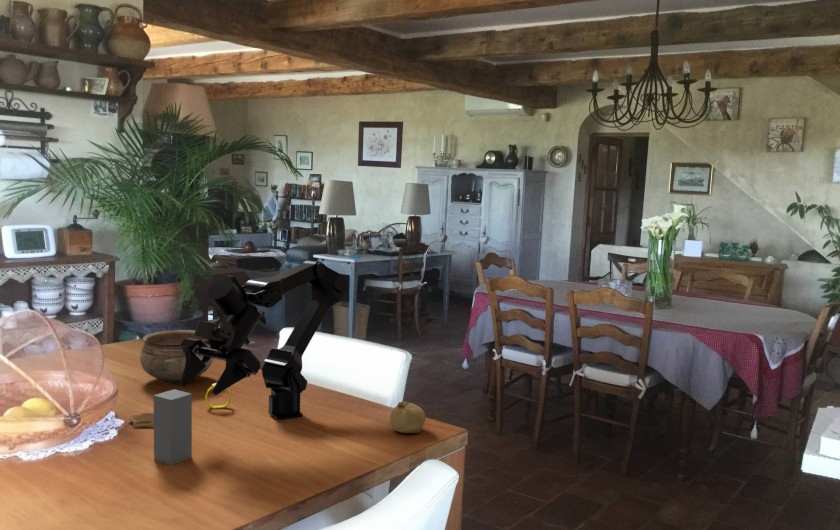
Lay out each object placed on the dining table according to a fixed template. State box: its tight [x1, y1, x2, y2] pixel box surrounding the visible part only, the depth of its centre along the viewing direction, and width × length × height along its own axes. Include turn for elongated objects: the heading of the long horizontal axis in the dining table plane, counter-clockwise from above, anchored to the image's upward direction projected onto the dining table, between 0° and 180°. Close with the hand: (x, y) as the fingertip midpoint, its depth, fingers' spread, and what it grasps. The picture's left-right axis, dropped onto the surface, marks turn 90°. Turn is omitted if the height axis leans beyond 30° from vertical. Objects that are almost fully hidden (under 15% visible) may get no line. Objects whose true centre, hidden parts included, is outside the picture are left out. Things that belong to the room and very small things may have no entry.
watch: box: [204, 382, 232, 410], centre depth 171 cm, size 6×3×6 cm, turn 101°
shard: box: [127, 412, 154, 429], centre depth 158 cm, size 11×8×2 cm
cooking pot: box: [139, 329, 214, 385], centre depth 191 cm, size 25×19×12 cm
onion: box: [389, 400, 427, 434], centre depth 160 cm, size 8×8×7 cm
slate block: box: [153, 388, 193, 466], centre depth 139 cm, size 5×5×13 cm
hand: (197, 390), depth 144 cm, fingers open, 9 cm apart
